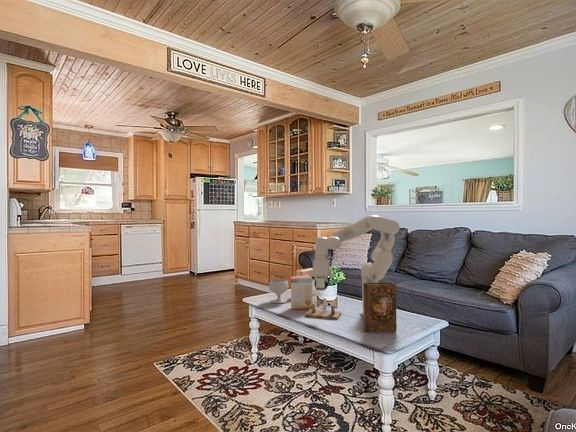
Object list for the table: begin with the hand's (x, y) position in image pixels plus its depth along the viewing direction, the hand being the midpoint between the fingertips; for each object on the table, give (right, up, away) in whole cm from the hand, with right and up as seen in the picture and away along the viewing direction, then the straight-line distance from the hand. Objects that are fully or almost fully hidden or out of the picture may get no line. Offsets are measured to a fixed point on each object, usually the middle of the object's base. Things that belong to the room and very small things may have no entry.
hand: (321, 287), depth 211 cm
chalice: (-26, -18, +38) cm, 50 cm away
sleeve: (0, -1, 0) cm, 1 cm away
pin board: (+2, -18, +4) cm, 18 cm away
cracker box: (-11, -18, +20) cm, 29 cm away
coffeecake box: (-6, -18, +57) cm, 60 cm away
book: (+29, -18, -25) cm, 42 cm away
